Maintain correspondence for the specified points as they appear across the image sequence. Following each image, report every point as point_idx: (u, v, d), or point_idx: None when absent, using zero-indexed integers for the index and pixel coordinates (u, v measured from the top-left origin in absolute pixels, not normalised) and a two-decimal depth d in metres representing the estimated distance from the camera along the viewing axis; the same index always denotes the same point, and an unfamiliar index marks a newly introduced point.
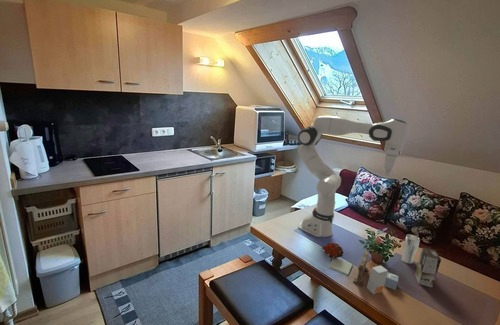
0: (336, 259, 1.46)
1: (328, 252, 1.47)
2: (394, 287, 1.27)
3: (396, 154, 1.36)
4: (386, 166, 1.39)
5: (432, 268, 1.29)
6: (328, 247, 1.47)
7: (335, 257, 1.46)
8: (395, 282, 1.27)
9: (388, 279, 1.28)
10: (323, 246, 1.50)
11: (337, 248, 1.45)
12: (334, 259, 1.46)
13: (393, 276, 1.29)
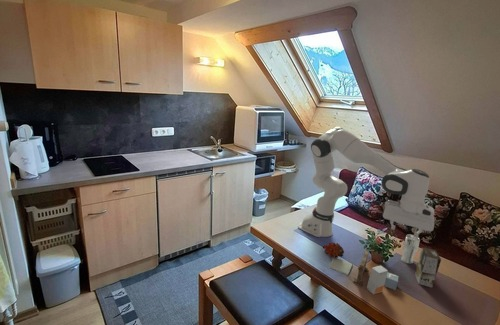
0: (336, 259, 1.46)
1: (329, 251, 1.47)
2: (394, 287, 1.27)
3: None
4: None
5: (432, 268, 1.29)
6: (329, 246, 1.48)
7: (335, 257, 1.46)
8: (395, 282, 1.27)
9: (388, 279, 1.28)
10: None
11: (338, 247, 1.45)
12: (334, 259, 1.46)
13: (393, 276, 1.29)
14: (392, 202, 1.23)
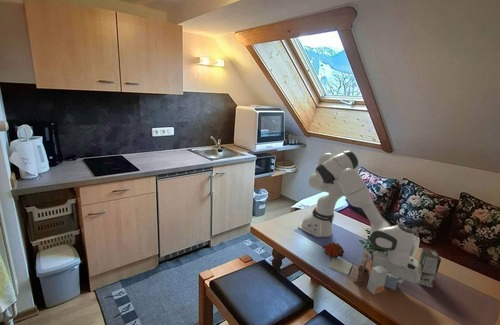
0: (336, 259, 1.46)
1: (329, 251, 1.47)
2: (394, 287, 1.27)
3: None
4: (417, 281, 1.23)
5: (433, 268, 1.29)
6: (329, 246, 1.48)
7: (335, 257, 1.46)
8: (395, 282, 1.27)
9: (388, 279, 1.28)
10: None
11: (338, 247, 1.45)
12: (334, 259, 1.46)
13: (393, 276, 1.29)
14: (380, 253, 1.30)
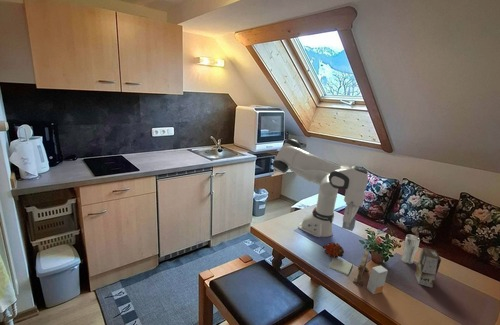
0: (336, 259, 1.46)
1: (329, 251, 1.47)
2: (354, 225, 1.35)
3: None
4: None
5: (433, 268, 1.29)
6: (329, 246, 1.48)
7: (335, 257, 1.46)
8: (355, 220, 1.34)
9: (354, 222, 1.32)
10: None
11: (338, 247, 1.45)
12: (334, 259, 1.46)
13: None
14: (351, 205, 1.25)
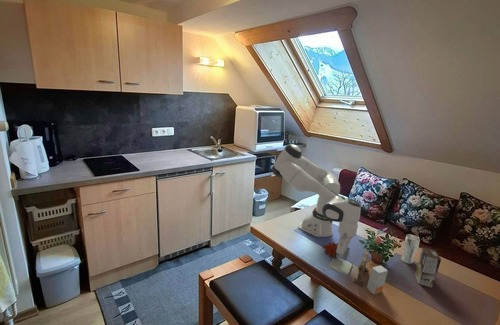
0: (336, 259, 1.46)
1: (329, 251, 1.47)
2: None
3: None
4: None
5: (432, 268, 1.29)
6: (329, 246, 1.48)
7: (335, 257, 1.46)
8: None
9: (347, 252, 1.36)
10: None
11: None
12: (334, 259, 1.46)
13: None
14: (344, 237, 1.30)
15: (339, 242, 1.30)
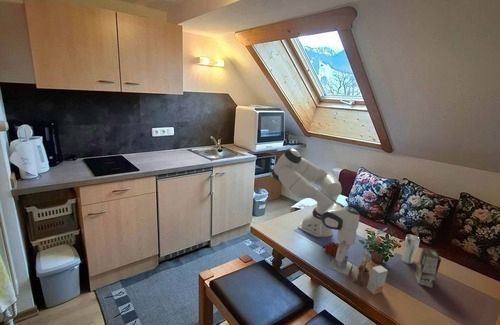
0: None
1: (329, 251, 1.47)
2: (346, 263, 1.41)
3: None
4: None
5: (433, 268, 1.29)
6: (329, 246, 1.48)
7: (335, 257, 1.47)
8: (347, 258, 1.41)
9: (346, 261, 1.38)
10: None
11: None
12: (334, 259, 1.46)
13: None
14: (343, 245, 1.31)
15: (338, 250, 1.31)
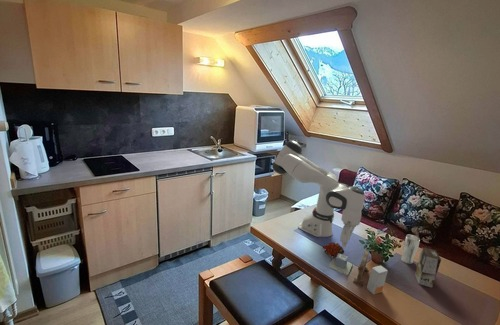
0: None
1: (329, 251, 1.47)
2: (346, 263, 1.41)
3: None
4: None
5: (433, 268, 1.29)
6: (329, 246, 1.48)
7: None
8: (347, 258, 1.41)
9: (346, 261, 1.38)
10: (324, 246, 1.51)
11: (338, 247, 1.45)
12: (334, 259, 1.46)
13: (341, 256, 1.41)
14: (348, 225, 1.28)
15: (343, 230, 1.28)
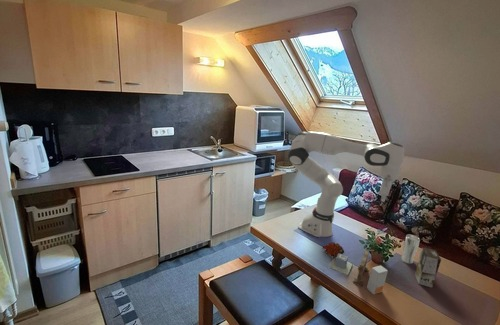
0: None
1: (329, 251, 1.47)
2: (346, 263, 1.41)
3: None
4: None
5: (433, 268, 1.29)
6: (329, 246, 1.48)
7: None
8: (347, 258, 1.41)
9: (346, 261, 1.38)
10: (324, 246, 1.51)
11: (338, 247, 1.45)
12: (334, 259, 1.46)
13: (341, 256, 1.41)
14: (388, 178, 1.31)
15: (383, 183, 1.30)
